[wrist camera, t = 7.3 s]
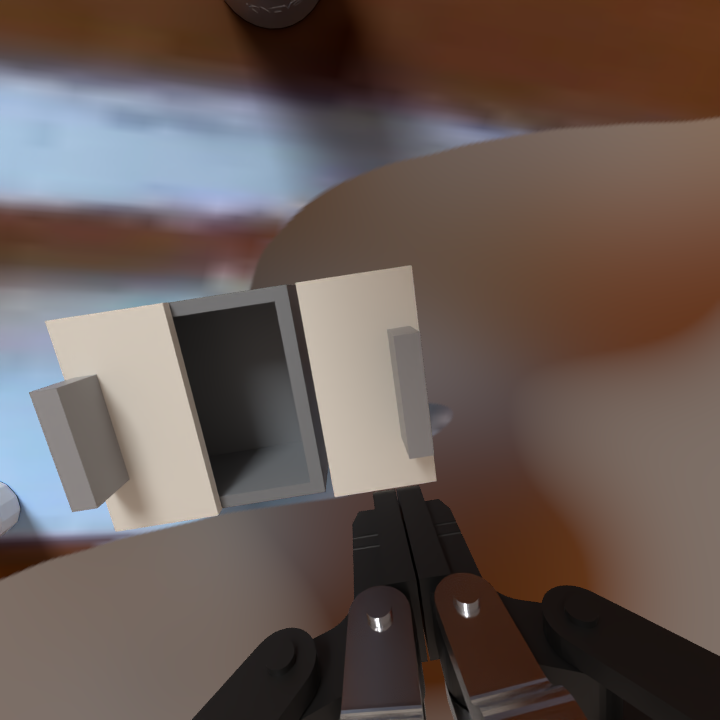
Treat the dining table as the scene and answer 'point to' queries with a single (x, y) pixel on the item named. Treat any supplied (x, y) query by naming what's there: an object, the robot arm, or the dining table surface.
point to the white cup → (8, 509)
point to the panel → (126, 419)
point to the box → (254, 393)
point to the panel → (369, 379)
